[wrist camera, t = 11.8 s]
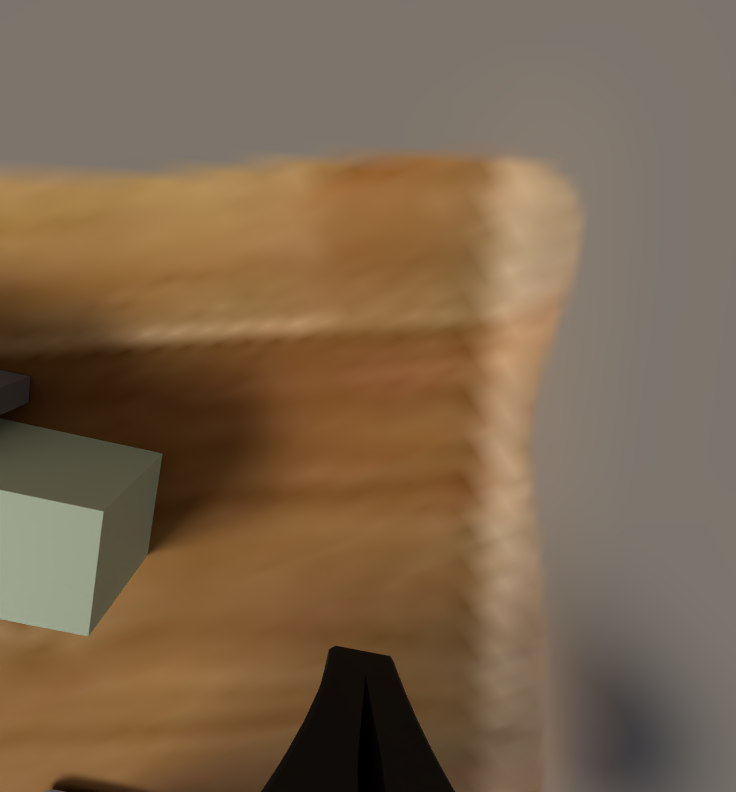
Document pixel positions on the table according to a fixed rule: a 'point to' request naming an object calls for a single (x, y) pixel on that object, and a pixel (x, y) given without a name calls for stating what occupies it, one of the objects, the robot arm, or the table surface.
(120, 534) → the rectangular block
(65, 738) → the table surface
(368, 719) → the robot arm
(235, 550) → the table surface
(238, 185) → the table surface
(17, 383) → the dark grey piece
